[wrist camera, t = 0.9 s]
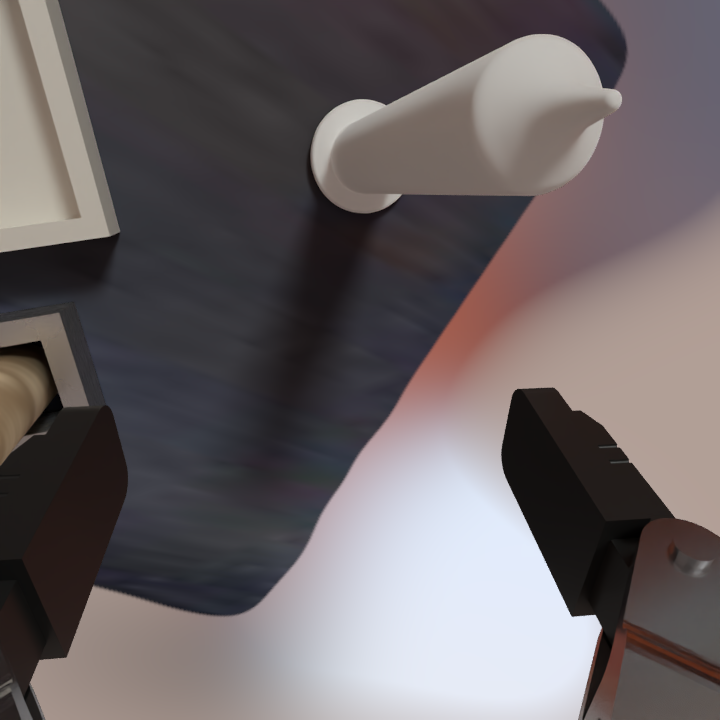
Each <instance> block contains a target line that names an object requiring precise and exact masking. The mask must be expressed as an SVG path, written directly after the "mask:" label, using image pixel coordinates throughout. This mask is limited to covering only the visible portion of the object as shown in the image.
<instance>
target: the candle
mask: <svg viewBox="0 0 720 720" xmlns="http://www.w3.org/2000/svg"><path fill="white" fill-rule="evenodd" d="M621 103H622V96H621V94H620V93H619V92H618V91H617V90H614V89H605V88H602V85H601V82H600V79H599V76H598V74H597V71H596V69H595V67H594V66H593V64H592V62H591V61H590V59H589V58H588V57H587V55H586V54H585V53H584V52H583V51H582V50H581V49H580V48H579V47H578V46H576V45H575V44H574V43H572V42H570V41H568V40H567V39H564V38H562V37H559V36H555V35H549V34H536V35H529V36H525V37H522V38H519V39H516V40H514V41H512V42H510V43H508V44H506V45H504V46H502V47H501V48H499V49H497V50H495V51H493V52H491V53H489V54H487V55H485V56H483V57H481V58H479V59H477V60H475V61H473V62H471V63H469V64H467V65H465V66H463V67H461V68H459V69H457V70H455V71H453V72H451V73H450V74H448V75H446V76H444V77H442V78H440V79H438V80H436V81H434V82H432V83H430V84H428V85H426V86H424V87H422V88H420V89H418V90H416V91H414V92H412V93H410V94H408V95H406V96H404V97H402V98H400V99H399V100H397V101H395V102H393V103H391V104H389V105H387V106H386V105H384V104H382V103H379V102H376V101H373V100H366V99H359V100H352V101H348V102H346V103H343V104H341V105H339V106H338V107H336V108H334V109H333V110H332V111H330V112H329V113H328V114H327V115H326V116H325V117H324V119H323V120H322V121H321V123H320V124H319V126H318V127H317V129H316V132H315V134H314V137H313V140H312V144H311V152H310V160H311V168H312V172H313V175H314V178H315V181H316V183H317V185H318V187H319V188H320V190H321V191H322V193H323V194H324V195H325V196H326V197H327V198H328V199H329V200H330V201H331V202H332V203H334V204H335V205H336V206H338V207H340V208H342V209H344V210H347V211H350V212H355V213H373V212H377V211H380V210H382V209H384V208H386V207H388V206H390V205H391V204H393V203H394V202H395V201H396V200H397V199H398V198H399V197H400V196H401V195H402V194H427V195H501V196H536V195H542V194H546V193H549V192H551V191H554V190H556V189H558V188H560V187H562V186H564V185H565V184H567V183H568V182H570V181H571V180H572V179H573V178H574V177H576V176H577V175H578V174H579V172H580V171H581V170H582V169H583V168H584V167H585V165H586V164H587V163H588V161H589V159H590V158H591V156H592V154H593V152H594V150H595V148H596V146H597V144H598V141H599V138H600V135H601V131H602V126H603V121H604V118H605V117H606V116H608V115H610V114H612V113H613V112H615V111H616V110H618V108H619V107H620V105H621Z"/></svg>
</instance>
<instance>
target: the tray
mask: <svg viewBox="0 0 720 720" xmlns="http://www.w3.org/2000/svg"><path fill="white" fill-rule="evenodd" d="M119 232H120V229H119V226H118V222H117V218H116V214H115V211H114V207H113V203H112V199H111V196H110V192H109V188H108V185H107V181H106V177H105V173H104V170H103V166H102V162H101V159H100V155H99V151H98V147H97V144H96V140H95V136H94V132H93V129H92V125H91V121H90V118H89V114H88V110H87V106H86V103H85V99H84V95H83V91H82V88H81V84H80V80H79V77H78V73H77V69H76V65H75V62H74V58H73V54H72V51H71V47H70V43H69V39H68V36H67V32H66V28H65V24H64V21H63V17H62V13H61V10H60V6H59V2H58V0H0V252H7V251H13V250H20V249H27V248H34V247H41V246H48V245H54V244H61V243H68V242H75V241H82V240H88V239H95V238H102V237H109V236H112V235H114V234H117V233H119Z"/></svg>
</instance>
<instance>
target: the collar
mask: <svg viewBox="0 0 720 720" xmlns="http://www.w3.org/2000/svg"><path fill="white" fill-rule="evenodd" d="M40 340H41V342H42V345H43V348H44V351H45V354H46V357H47V360H48V363H49V366H50V369H51V372H52V375H53V378H54V381H55V384H56V387H57V390H58V393H59V395H60V398H61V401H62V404H63V407H64V408H65V407H79V406H103V405H106V403H105V400H104V397H103V394H102V390H101V387H100V384H99V381H98V377H97V374H96V371H95V368H94V364H93V361H92V358H91V355H90V351H89V348H88V345H87V342H86V338H85V335H84V332H83V329H82V326H81V322H80V319H79V316H78V313H77V309H76V306H75V303H74V302H68V303H62V304H56V305H50V306H44V307H38V308H32V309H26V310H20V311H14V312H8V313H2V314H0V348H1V347H7V346H12V345H18V344H24V343H29V342H35V341H40ZM60 411H61V410H60ZM60 411H55V412H50V413H45V414H41V415H40V416H39V417H38V419H37V420H36V421H35V422H34V424H33V425H32V426H31V427H30V429H29V430H28V431H27V433H26V434H25V435H24V436H23V438H22V439H21V440H20V441H19V443H18V444H17V445H16V446H15V448H14V449H13V450H12V452H13V451H14V450H15V449H17V448H18V447H19V446H20V445H22V444H23V443H24V442H26V441H27V440H28V439H29V438H31V437H32V436H33V435H44V434H46V433H47V431H48V430H49V428H50V427H51V425H52V423H53V422H54V420H55V419H56V417H57V415H58V414H59V412H60ZM12 452H11V453H12ZM8 456H9V455H8ZM5 460H6V459H5ZM5 460H4V461H5ZM3 463H4V462H3Z"/></svg>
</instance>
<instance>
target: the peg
mask: <svg viewBox="0 0 720 720" xmlns="http://www.w3.org/2000/svg"><path fill="white" fill-rule="evenodd" d="M57 393H58V390H57V387H56V384H55V381H54V378H53V375H52V372H51V369H50V366H49V363H48V360H47V357H46V354H45V351H44V349H43V348H41V347H39V346H36V345H32V344H27V343H24V344H18V345H12V346H7V347H2V348H0V465H1V464H2V463H3V462H4V460H5V459H6V458H7V457H8V455H9V454H10V453H11V452H12V450H13V449H14V448H15V446H16V445H17V444H18V443H19V441H20V440H21V439H22V438H23V436H24V435H25V434H26V433H27V431H28V430H29V429H30V427H31V426H32V425H33V424H34V422H35V421H36V420H37V419H38V417H39V416H40V415H41V414H42V412H43V411H44V410H45V408H46V407H47V406H48V405H49V403H50V402H51V401H52V400H53V398H54V397H55V396H56V395H57Z"/></svg>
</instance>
